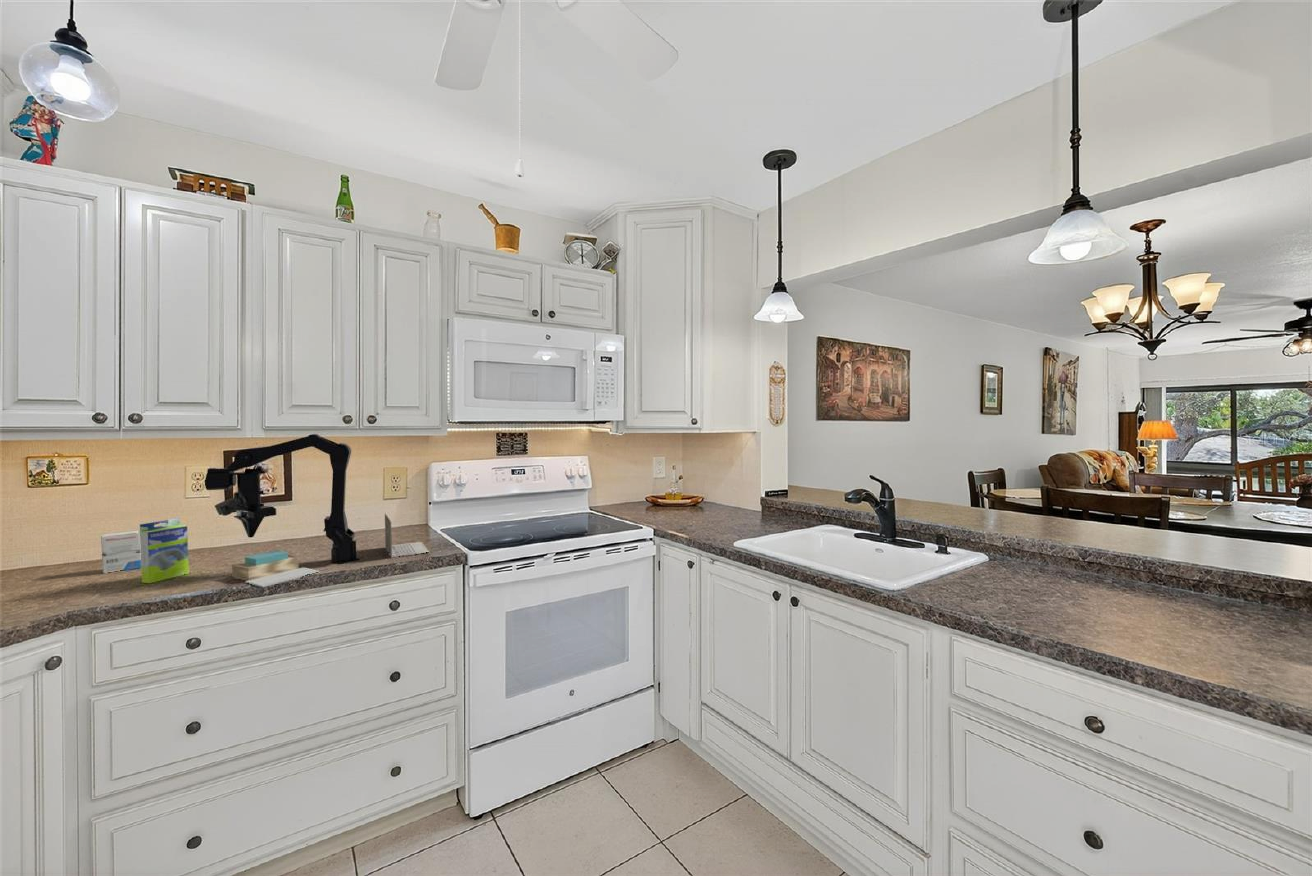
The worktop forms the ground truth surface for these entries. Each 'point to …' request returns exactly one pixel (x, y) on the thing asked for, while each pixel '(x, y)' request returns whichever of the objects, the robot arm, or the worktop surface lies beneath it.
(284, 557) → the teal rectangular block
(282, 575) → the mat
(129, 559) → the ink box
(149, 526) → the box
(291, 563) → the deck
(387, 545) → the laptop
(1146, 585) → the worktop surface
